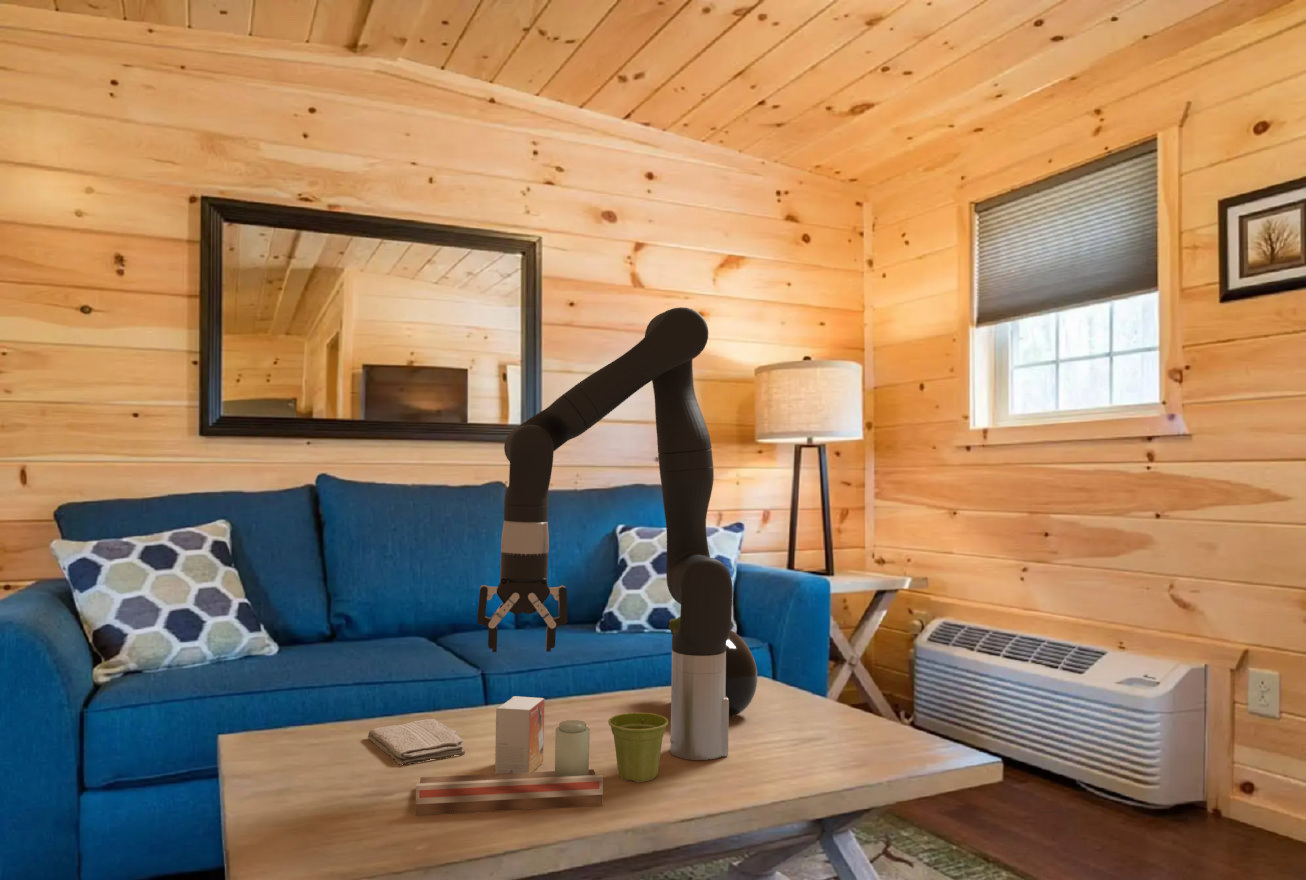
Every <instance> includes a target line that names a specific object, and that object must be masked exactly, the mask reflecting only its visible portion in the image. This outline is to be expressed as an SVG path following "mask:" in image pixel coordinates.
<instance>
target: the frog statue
mask: <svg viewBox="0 0 1306 880" xmlns="http://www.w3.org/2000/svg"><path fill="white" fill-rule="evenodd" d="M679 625H680V616H678V617H677V618H672V619H670V620H669V621H668V622H667V626H668V629H669V630H670V633H671V636H673V634H674V632H675V631H677V630H678V628H679ZM757 687H758V668H757V665H756V661H755V658H754V656H753V654H752V652H751V650H750V648H749V646H748V645H747V643H746V642H745V640H743V638H742V637H740V636H739V635H738V633H736V632H735V631H734V630H732V629H730V634H729V637H728V639H727V642H726V687H725V696H726V697H727V698H728V699H729V718H732V717H736V716H737V715H740V713H742V712H744V711H745V710H746V709H747V707H749V705H750V704H751V703H752V701H753V699H754V697H755V694H756V691H757Z"/></svg>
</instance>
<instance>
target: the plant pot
mask: <svg viewBox="0 0 1306 880" xmlns="http://www.w3.org/2000/svg"><path fill="white" fill-rule="evenodd" d="M607 723H608V725H609V726H610V729H611V734H612V735H613V742H614V747H615V750H614V751H615V758H616V765H617V773H618V776H619V778H620V779H622V780H623V781H628V780H629V781H630V780H631V781H634V782H637V783H642V782H648V781H653V780H654V779H655V778H656V776H658V775H659V774H658V773H659V767H660V759H661V751H662V745H663V744H662V742H663V737H664V734H665V732H666V727H667V726H668V725H669V719H668V718H667V717H666V716H663V715H660V714H656V713H650V712H626V713H625V712H624V713H620V714H616V715H613V716H611V717H610V718H608V720H607Z"/></svg>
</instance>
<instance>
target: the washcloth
mask: <svg viewBox="0 0 1306 880" xmlns="http://www.w3.org/2000/svg"><path fill="white" fill-rule="evenodd" d="M367 738H368V739H370V741H371V742H372V743H373V744H374V743H375V744H374V745H376V746H377V747H378V746H379V747H380V748H379V747H378V748H379V749H380V750H381V751H383V752H384V751H385V752H386V753H385V752H384V753H385V754H387V755H388V756H389V755H390V756H389V757H391V759H393V758H394V759H395V760H394V761H395V762H396V764H397V765H399V764H400V765H402V764H403V765H412V764H411V763H416V764H419V763H418V762H422V763H424V762H423V761H426V760H430V759H438V760H441V759H440V758H445V759H447V758H446V757H451V756H454V755H461V756H463V755H465V754H466V751H465V750H464V749H463V745H462V743H463V742H464V739H462V738H461V737H460V736H459V735H458V733H457V731H456V730H454V729H451V728H449V727H448V726H447V725H446V724H443V723H441V722H440V721H438V720H437V719H435V718H430V719H429V718H427V719H422V720H421V719H420V720H419V719H418V720H413V721H412V722H408V723H403V724H400V725H399V724H394V725H387V726H381V727H376V728H375V727H374V728H371V729H370V730H369V731H368V734H367ZM451 758H452V757H451ZM405 763H407V764H405ZM400 765H399V766H400ZM403 765H402V766H403Z"/></svg>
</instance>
